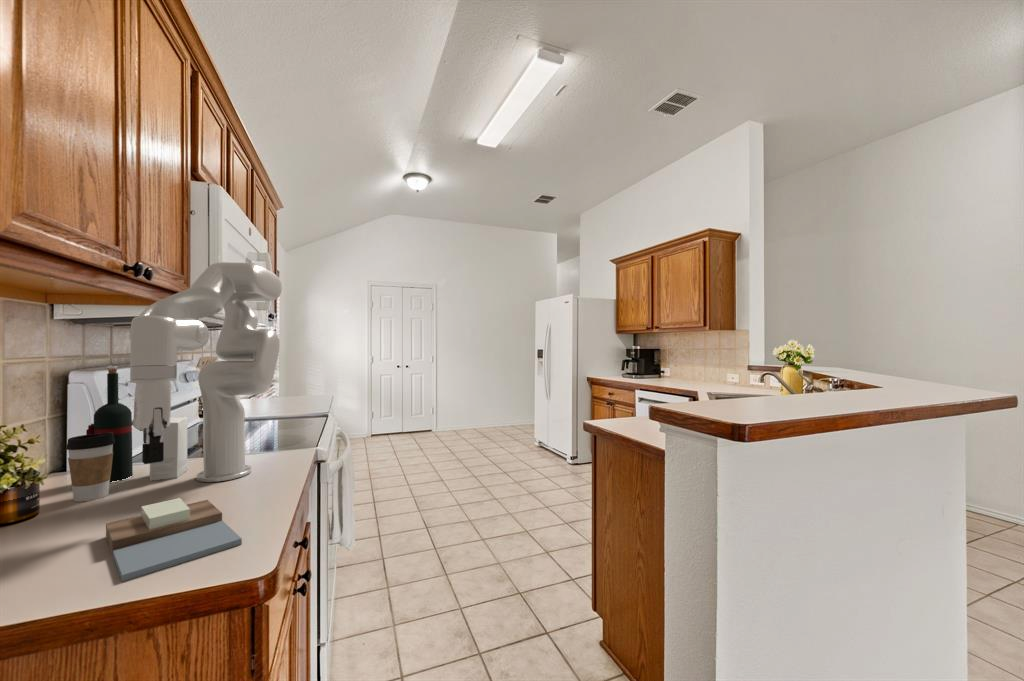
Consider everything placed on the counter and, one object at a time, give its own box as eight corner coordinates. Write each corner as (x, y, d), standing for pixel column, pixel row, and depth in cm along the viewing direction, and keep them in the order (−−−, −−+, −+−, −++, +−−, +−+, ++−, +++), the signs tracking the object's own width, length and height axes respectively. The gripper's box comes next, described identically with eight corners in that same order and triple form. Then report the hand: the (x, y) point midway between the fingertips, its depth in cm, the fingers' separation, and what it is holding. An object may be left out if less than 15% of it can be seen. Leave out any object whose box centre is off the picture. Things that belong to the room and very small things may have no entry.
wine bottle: (85, 479, 115) (84, 369, 115) (135, 473, 121) (134, 367, 121) (76, 488, 109) (76, 370, 109) (129, 480, 114) (129, 368, 115)
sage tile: (141, 516, 84) (141, 506, 84) (179, 507, 88) (179, 497, 88) (149, 529, 78) (149, 518, 78) (190, 519, 82) (190, 508, 82)
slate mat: (112, 556, 73) (112, 550, 73) (222, 525, 85) (222, 520, 85) (122, 581, 65) (122, 575, 65) (241, 544, 77) (241, 538, 77)
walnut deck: (105, 536, 81) (105, 523, 81) (207, 511, 92) (207, 499, 92) (112, 555, 73) (112, 541, 73) (222, 525, 85) (222, 512, 85)
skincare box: (161, 472, 121) (161, 417, 121) (189, 470, 124) (189, 416, 124) (148, 481, 113) (148, 423, 113) (178, 478, 116) (178, 421, 116)
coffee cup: (99, 502, 99) (99, 437, 99) (55, 505, 97) (55, 439, 97) (124, 489, 107) (123, 430, 107) (83, 492, 105) (83, 432, 105)
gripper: (125, 374, 92) (123, 460, 91) (135, 376, 82) (134, 472, 81) (169, 373, 98) (168, 453, 97) (184, 374, 88) (183, 464, 87)
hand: (152, 462), depth 89 cm, fingers closed
